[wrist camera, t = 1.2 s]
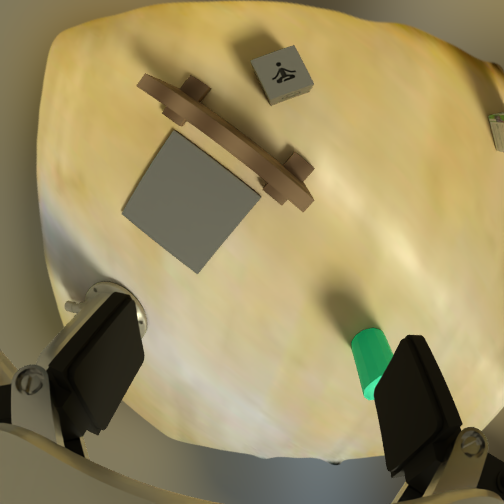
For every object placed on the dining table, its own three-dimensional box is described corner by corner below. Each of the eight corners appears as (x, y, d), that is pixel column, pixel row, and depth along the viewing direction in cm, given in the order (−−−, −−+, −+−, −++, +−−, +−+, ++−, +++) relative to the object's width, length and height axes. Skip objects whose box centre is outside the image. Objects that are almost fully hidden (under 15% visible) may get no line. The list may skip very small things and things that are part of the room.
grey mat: (198, 272, 40) (197, 274, 39) (123, 213, 37) (121, 213, 37) (261, 196, 35) (261, 197, 34) (175, 130, 32) (173, 130, 32)
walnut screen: (316, 170, 33) (331, 181, 23) (284, 206, 35) (286, 230, 26) (190, 75, 29) (159, 54, 20) (162, 112, 31) (123, 105, 22)
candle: (343, 346, 42) (356, 403, 31) (368, 322, 40) (389, 376, 29) (367, 359, 43) (383, 412, 32) (391, 336, 41) (414, 388, 30)
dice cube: (271, 105, 30) (269, 99, 26) (254, 71, 29) (250, 60, 24) (309, 92, 29) (314, 84, 25) (292, 57, 28) (294, 45, 23)
